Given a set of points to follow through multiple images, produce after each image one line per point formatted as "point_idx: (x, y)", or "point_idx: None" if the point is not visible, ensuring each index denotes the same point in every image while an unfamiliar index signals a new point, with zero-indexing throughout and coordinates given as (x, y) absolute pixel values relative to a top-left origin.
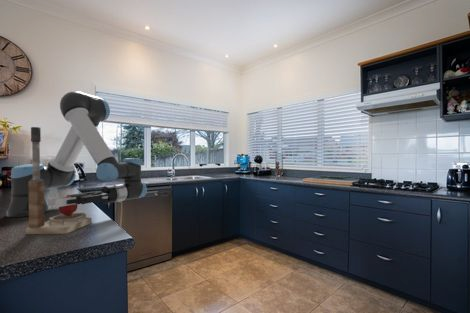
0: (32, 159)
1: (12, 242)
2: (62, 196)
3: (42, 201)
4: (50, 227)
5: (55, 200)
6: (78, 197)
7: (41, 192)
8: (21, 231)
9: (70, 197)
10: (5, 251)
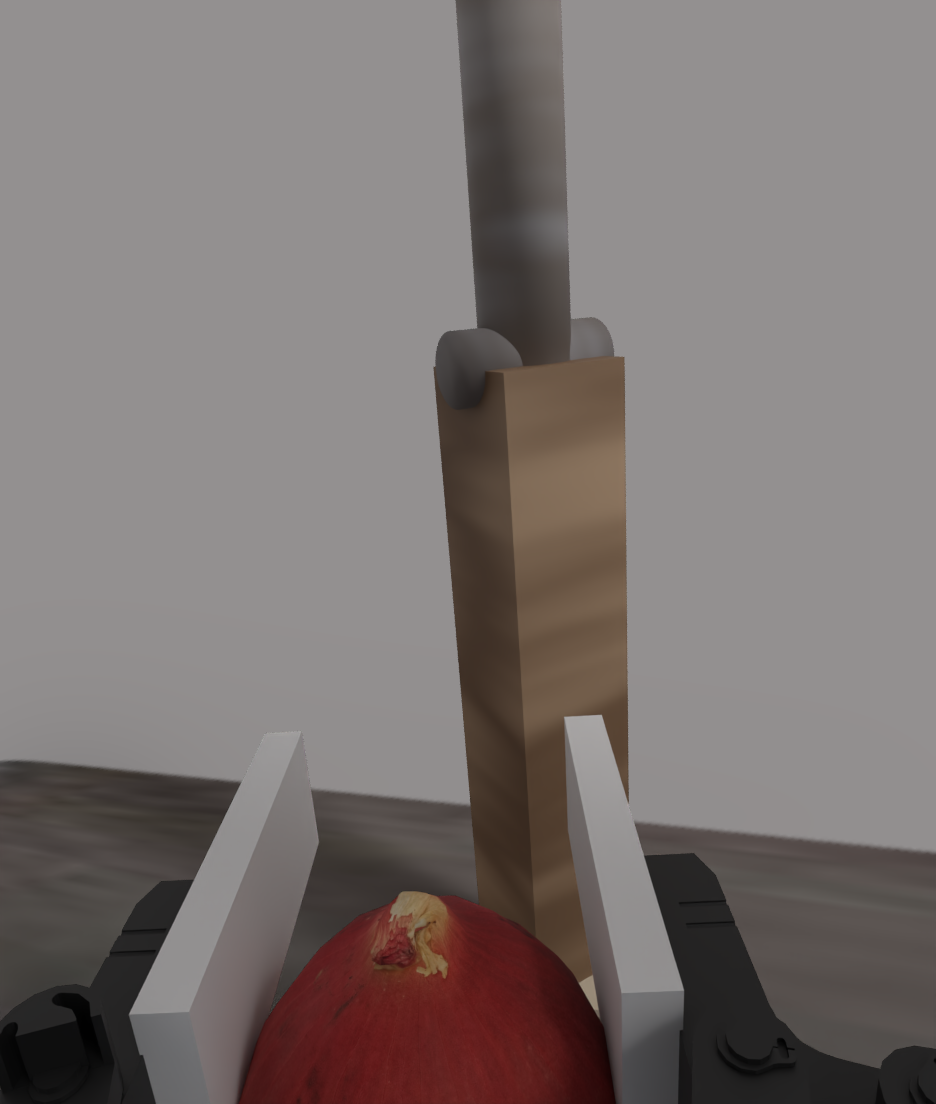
0: None
1: (382, 825)
2: (630, 883)
3: (505, 694)
4: None
5: (287, 744)
6: (29, 1052)
7: (486, 556)
8: (737, 920)
9: (371, 980)
10: (215, 781)
